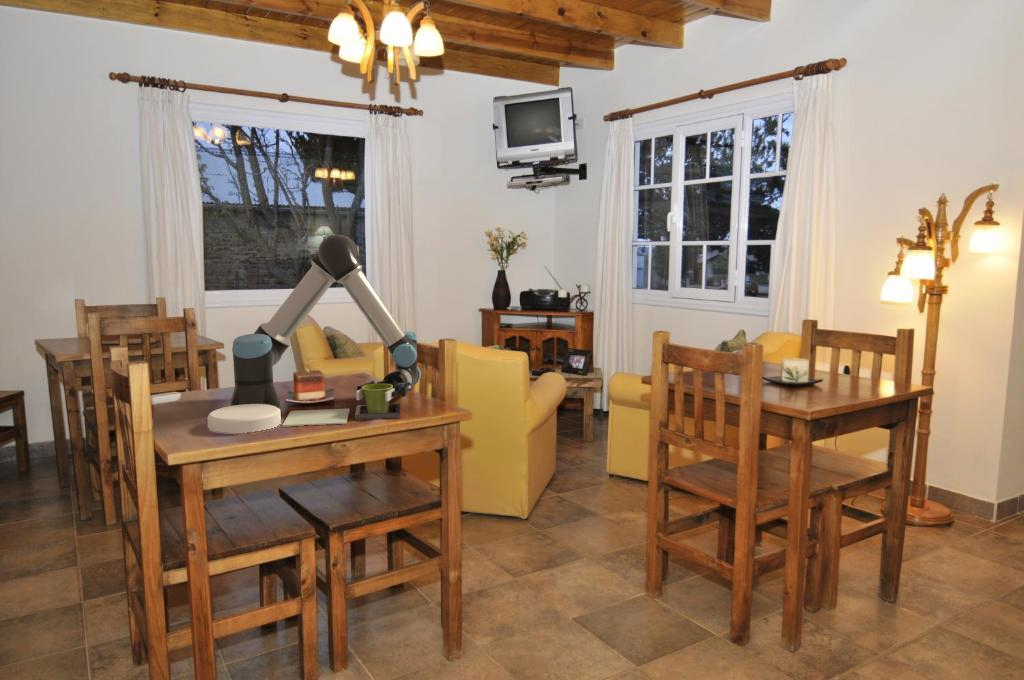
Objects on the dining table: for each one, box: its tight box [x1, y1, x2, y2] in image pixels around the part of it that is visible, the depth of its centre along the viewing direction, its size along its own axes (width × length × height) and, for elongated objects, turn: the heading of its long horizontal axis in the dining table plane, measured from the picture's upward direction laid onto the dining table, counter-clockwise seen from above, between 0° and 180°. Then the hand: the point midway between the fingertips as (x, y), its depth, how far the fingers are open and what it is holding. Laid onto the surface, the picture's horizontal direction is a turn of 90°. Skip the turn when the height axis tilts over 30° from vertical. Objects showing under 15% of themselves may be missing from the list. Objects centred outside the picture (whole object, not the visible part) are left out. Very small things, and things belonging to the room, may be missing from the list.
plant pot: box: [362, 383, 393, 414], centre depth 221 cm, size 9×9×9 cm
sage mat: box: [281, 408, 350, 428], centre depth 217 cm, size 18×18×1 cm
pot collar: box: [354, 403, 401, 421], centre depth 222 cm, size 13×13×2 cm
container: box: [206, 404, 282, 433], centre depth 208 cm, size 20×20×5 cm
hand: (371, 396), depth 217 cm, fingers closed on plant pot, 9 cm apart
